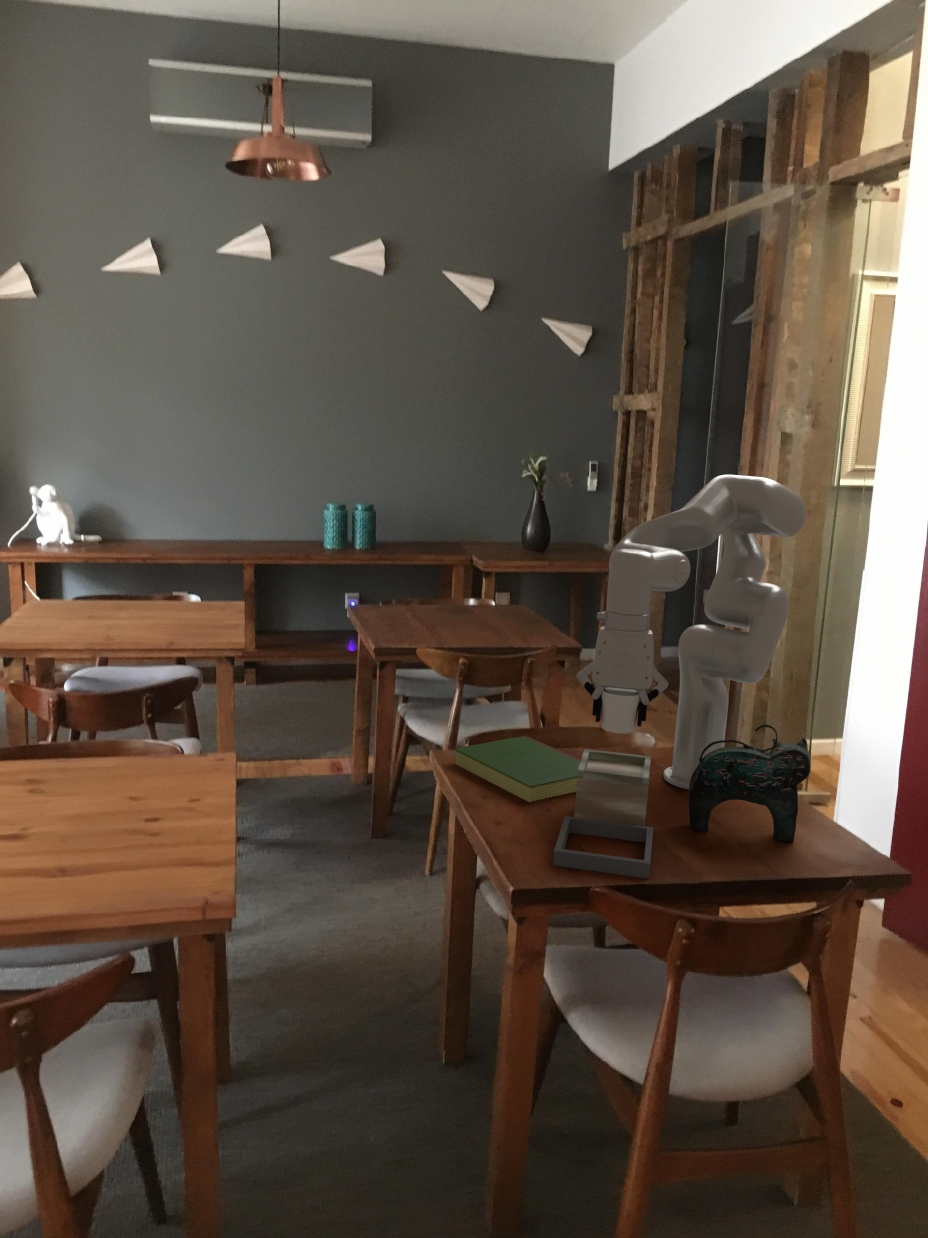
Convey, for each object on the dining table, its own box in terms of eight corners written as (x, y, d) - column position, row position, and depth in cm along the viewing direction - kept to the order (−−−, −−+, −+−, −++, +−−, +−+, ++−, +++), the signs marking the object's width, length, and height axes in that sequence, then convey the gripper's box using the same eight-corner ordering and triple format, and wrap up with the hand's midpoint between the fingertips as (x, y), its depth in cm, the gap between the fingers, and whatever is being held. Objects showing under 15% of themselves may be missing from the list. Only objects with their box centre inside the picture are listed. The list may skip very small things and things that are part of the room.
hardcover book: (603, 788, 197) (605, 770, 197) (529, 805, 186) (530, 786, 186) (522, 751, 217) (523, 734, 216) (451, 765, 206) (451, 747, 206)
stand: (580, 803, 188) (584, 749, 186) (646, 811, 185) (651, 756, 183) (573, 827, 176) (577, 770, 174) (643, 836, 174) (648, 778, 172)
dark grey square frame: (563, 829, 175) (564, 816, 174) (652, 841, 172) (653, 827, 171) (552, 865, 160) (554, 850, 160) (648, 878, 157) (650, 863, 157)
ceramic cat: (800, 834, 178) (814, 725, 174) (805, 849, 172) (818, 736, 168) (685, 820, 182) (695, 713, 178) (685, 834, 176) (696, 723, 172)
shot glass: (637, 736, 173) (640, 697, 172) (596, 732, 175) (600, 692, 173) (638, 725, 180) (642, 687, 179) (599, 721, 181) (602, 683, 180)
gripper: (574, 621, 172) (566, 722, 175) (678, 630, 168) (668, 734, 172) (578, 613, 179) (571, 711, 182) (678, 622, 176) (669, 722, 179)
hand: (618, 721), depth 177 cm, fingers closed on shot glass, 6 cm apart
